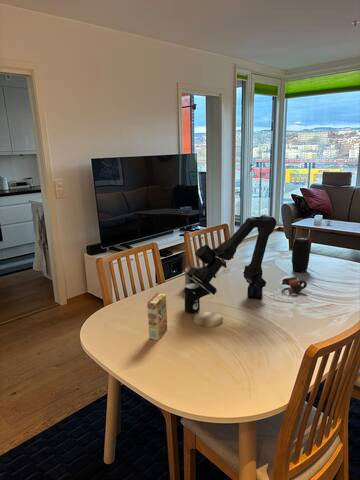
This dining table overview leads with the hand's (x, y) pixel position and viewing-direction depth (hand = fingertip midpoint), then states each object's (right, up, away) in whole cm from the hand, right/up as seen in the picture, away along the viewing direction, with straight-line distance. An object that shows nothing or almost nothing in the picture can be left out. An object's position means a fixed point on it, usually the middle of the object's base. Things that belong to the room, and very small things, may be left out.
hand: (189, 297), depth 156 cm
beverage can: (+1, -6, +2) cm, 7 cm away
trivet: (+8, -8, -6) cm, 13 cm away
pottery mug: (+52, 0, +21) cm, 56 cm away
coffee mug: (+5, +1, +29) cm, 29 cm away
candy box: (-12, -12, -17) cm, 24 cm away
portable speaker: (+65, +7, +49) cm, 81 cm away
